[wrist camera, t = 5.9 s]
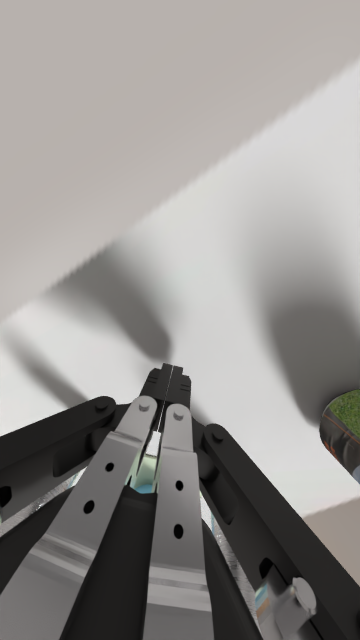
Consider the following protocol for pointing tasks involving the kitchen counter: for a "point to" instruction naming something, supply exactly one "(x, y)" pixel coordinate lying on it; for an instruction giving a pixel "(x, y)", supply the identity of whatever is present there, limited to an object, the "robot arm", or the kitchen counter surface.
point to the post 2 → (235, 569)
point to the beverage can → (343, 431)
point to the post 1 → (35, 505)
